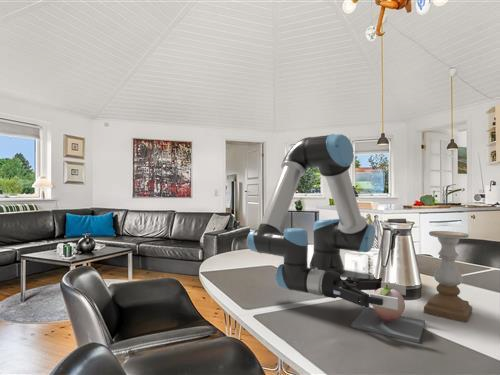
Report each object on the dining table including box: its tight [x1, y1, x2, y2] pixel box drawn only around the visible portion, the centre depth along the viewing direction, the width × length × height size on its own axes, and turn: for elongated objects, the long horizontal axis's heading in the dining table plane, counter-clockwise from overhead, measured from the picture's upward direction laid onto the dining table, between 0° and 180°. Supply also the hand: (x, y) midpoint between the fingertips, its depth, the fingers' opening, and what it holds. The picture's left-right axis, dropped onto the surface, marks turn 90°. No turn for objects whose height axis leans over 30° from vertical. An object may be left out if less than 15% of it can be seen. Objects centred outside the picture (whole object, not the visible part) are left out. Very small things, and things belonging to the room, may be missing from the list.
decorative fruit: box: [371, 285, 406, 322], centre depth 88 cm, size 9×8×10 cm
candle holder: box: [423, 230, 473, 324], centre depth 97 cm, size 11×11×24 cm
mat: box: [351, 307, 426, 344], centre depth 88 cm, size 16×14×1 cm
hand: (402, 296), depth 86 cm, fingers open, 13 cm apart
